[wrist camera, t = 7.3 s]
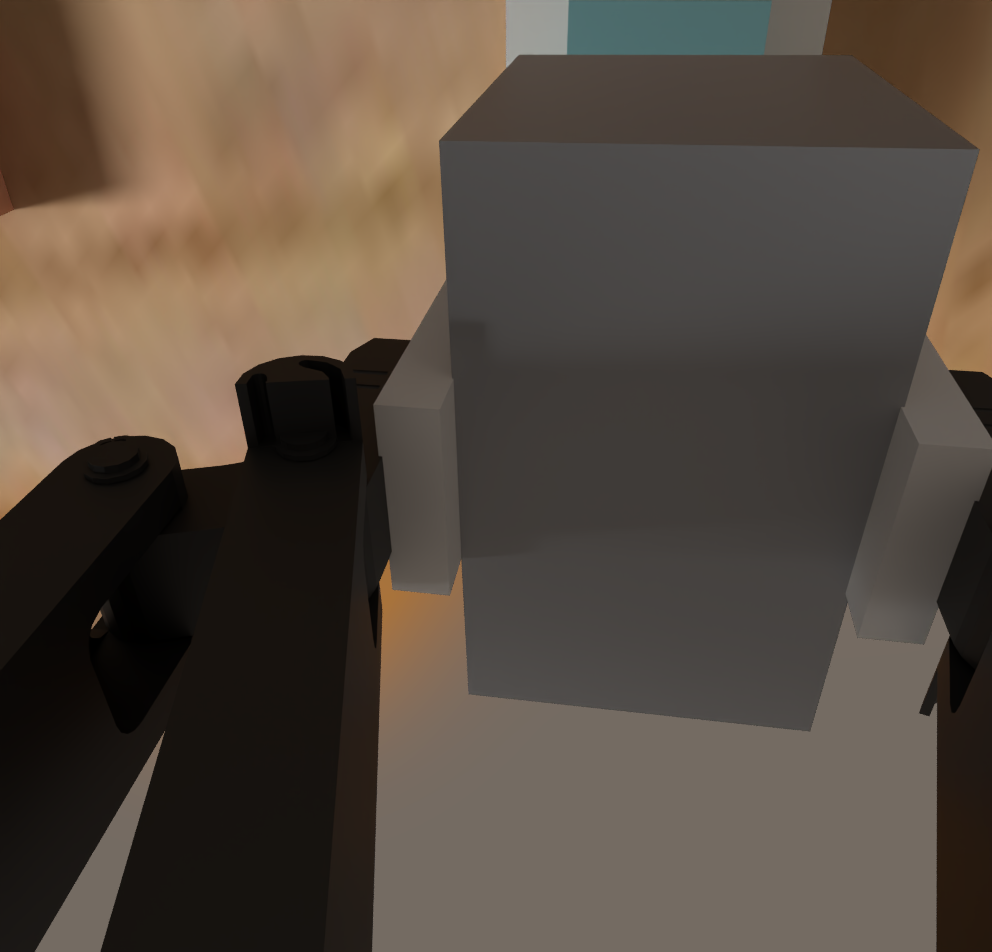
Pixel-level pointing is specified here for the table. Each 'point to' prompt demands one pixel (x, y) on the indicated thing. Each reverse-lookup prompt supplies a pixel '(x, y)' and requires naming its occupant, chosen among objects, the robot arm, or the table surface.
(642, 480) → the charcoal brick
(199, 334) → the table surface
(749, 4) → the teal base brick
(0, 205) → the terracotta brick
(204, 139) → the table surface
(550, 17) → the baseplate
